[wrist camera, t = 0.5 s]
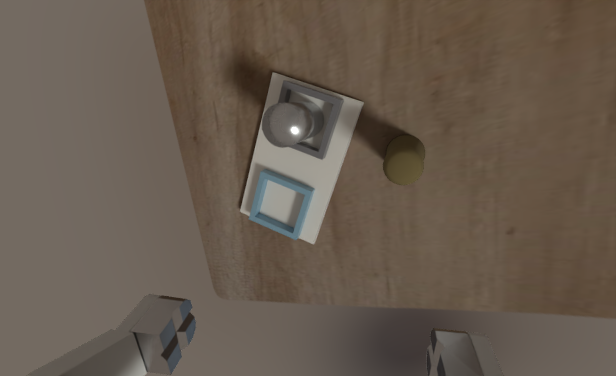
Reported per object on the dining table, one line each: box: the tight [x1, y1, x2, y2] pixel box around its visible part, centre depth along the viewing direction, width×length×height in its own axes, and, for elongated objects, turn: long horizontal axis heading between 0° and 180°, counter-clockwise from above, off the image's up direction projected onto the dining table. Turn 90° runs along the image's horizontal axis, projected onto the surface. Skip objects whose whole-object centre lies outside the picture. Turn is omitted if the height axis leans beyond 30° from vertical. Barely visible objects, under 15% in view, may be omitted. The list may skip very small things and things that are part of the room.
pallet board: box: [240, 72, 364, 244], centre depth 55 cm, size 27×16×3 cm, turn 163°
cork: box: [383, 135, 425, 185], centre depth 46 cm, size 6×6×11 cm
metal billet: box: [262, 101, 324, 148], centre depth 48 cm, size 6×6×11 cm
